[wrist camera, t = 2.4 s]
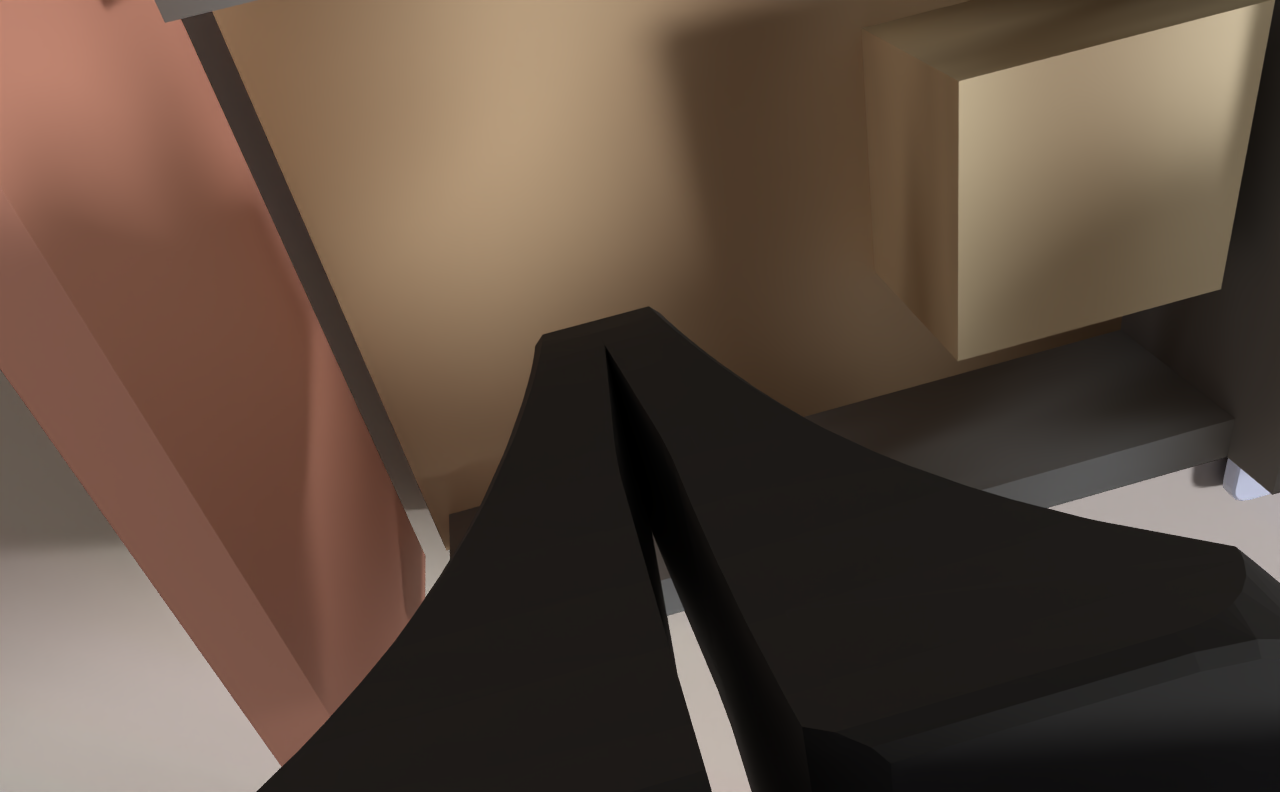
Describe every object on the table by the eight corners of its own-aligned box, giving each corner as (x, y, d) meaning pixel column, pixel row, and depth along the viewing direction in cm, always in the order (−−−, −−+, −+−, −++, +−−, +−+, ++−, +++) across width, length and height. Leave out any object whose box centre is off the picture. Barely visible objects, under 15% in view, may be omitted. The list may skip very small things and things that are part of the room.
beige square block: (1121, -39, 14) (1276, -2, 11) (1097, 211, 16) (1220, 289, 13) (861, 28, 13) (959, 81, 11) (875, 271, 16) (957, 360, 13)
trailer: (1223, -576, 11) (1700, -799, 7) (1106, 414, 20) (1289, 582, 16) (97, -320, 11) (-124, -395, 6) (479, 589, 19) (492, 814, 15)
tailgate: (134, -83, 11) (-107, 16, 6) (425, 556, 17) (422, 864, 12) (68, -67, 11) (-229, 46, 6) (383, 568, 17) (363, 882, 12)
